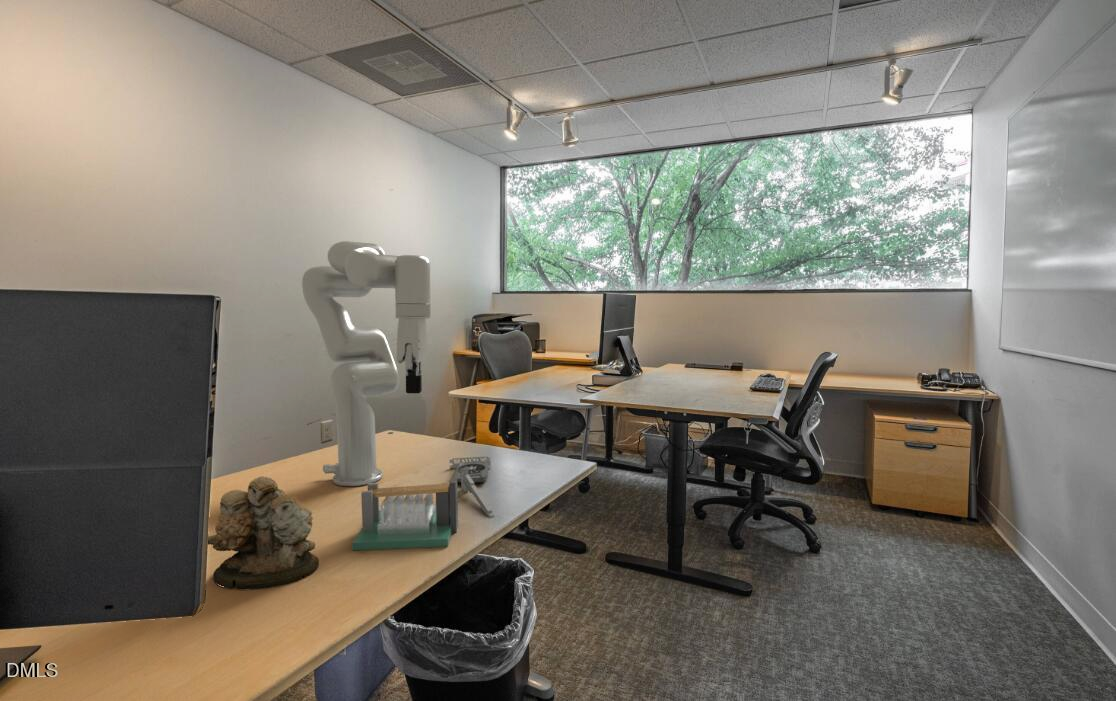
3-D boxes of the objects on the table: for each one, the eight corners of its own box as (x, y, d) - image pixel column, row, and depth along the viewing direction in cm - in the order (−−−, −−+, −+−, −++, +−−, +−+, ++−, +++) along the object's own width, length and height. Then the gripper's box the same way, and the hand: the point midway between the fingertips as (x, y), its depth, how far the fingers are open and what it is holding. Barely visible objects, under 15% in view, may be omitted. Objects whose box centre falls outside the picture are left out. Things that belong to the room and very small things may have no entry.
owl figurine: (191, 595, 86) (184, 493, 85) (225, 561, 98) (219, 471, 96) (308, 585, 89) (303, 486, 87) (328, 553, 100) (323, 465, 99)
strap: (365, 498, 107) (364, 493, 107) (369, 493, 110) (368, 488, 110) (448, 493, 108) (448, 487, 108) (450, 487, 111) (449, 482, 111)
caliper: (461, 490, 134) (460, 466, 134) (465, 489, 135) (464, 465, 134) (489, 519, 116) (489, 491, 116) (494, 518, 117) (494, 490, 116)
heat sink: (377, 535, 104) (376, 505, 104) (389, 515, 114) (388, 488, 114) (429, 533, 105) (428, 503, 105) (436, 513, 115) (435, 486, 115)
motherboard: (352, 550, 101) (350, 502, 100) (374, 517, 117) (372, 475, 116) (447, 546, 103) (446, 498, 102) (456, 513, 119) (455, 472, 118)
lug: (436, 533, 109) (435, 483, 108) (439, 525, 112) (437, 477, 111) (456, 532, 109) (455, 482, 108) (458, 525, 113) (457, 477, 112)
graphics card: (449, 457, 153) (491, 455, 153) (450, 470, 153) (492, 467, 154) (441, 477, 136) (488, 474, 137) (441, 491, 136) (488, 488, 137)
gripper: (403, 310, 125) (404, 386, 127) (387, 312, 110) (388, 399, 112) (435, 310, 126) (436, 386, 128) (423, 313, 111) (424, 399, 113)
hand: (413, 392), depth 120 cm, fingers closed
